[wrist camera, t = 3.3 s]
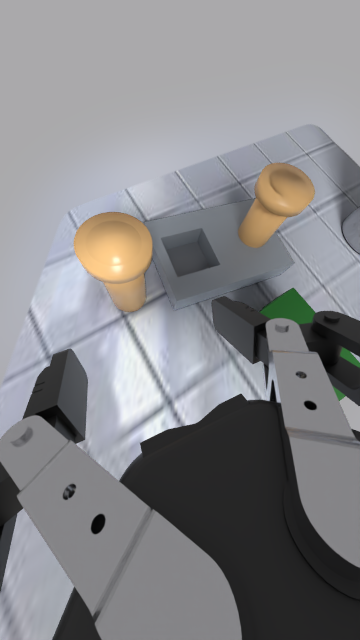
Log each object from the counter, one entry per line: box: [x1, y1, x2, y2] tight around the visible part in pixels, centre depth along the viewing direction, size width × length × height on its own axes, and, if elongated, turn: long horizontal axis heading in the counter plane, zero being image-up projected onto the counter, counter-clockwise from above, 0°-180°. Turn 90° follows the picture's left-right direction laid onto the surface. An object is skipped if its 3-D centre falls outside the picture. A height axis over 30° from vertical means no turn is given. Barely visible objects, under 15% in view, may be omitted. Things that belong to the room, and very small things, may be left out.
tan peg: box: [74, 212, 152, 312], centre depth 19 cm, size 6×6×10 cm
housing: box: [144, 163, 315, 310], centre depth 22 cm, size 16×11×10 cm, turn 112°
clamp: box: [260, 288, 360, 401], centre depth 22 cm, size 12×6×9 cm, turn 30°
